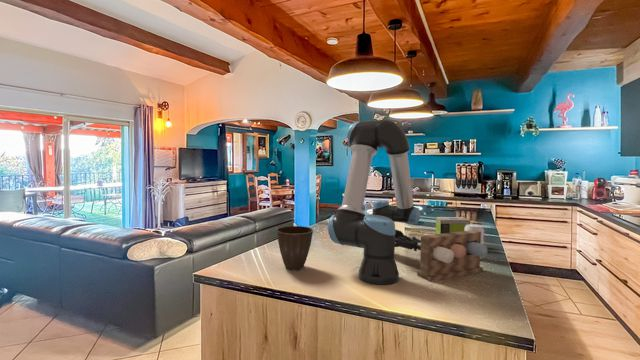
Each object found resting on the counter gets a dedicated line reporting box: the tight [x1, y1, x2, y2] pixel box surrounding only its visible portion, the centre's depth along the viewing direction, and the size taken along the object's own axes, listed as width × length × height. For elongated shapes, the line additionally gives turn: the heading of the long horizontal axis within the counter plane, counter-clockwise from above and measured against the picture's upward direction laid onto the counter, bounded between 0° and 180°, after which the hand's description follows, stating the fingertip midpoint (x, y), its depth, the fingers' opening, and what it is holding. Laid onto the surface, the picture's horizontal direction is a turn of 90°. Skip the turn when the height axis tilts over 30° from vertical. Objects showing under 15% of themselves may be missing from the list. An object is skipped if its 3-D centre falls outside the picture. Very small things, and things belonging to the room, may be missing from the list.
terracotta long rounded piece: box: [450, 243, 466, 258], centre depth 132 cm, size 5×9×5 cm, turn 25°
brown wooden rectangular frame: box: [416, 230, 484, 283], centre depth 133 cm, size 28×7×16 cm, turn 115°
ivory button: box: [432, 246, 454, 263], centre depth 126 cm, size 5×9×5 cm, turn 26°
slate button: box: [467, 241, 488, 258], centre depth 134 cm, size 5×9×5 cm, turn 25°
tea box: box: [435, 216, 471, 234], centre depth 176 cm, size 15×10×15 cm, turn 84°
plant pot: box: [276, 225, 314, 271], centre depth 138 cm, size 15×15×16 cm
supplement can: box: [464, 223, 485, 260], centre depth 155 cm, size 8×8×15 cm
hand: (430, 250), depth 130 cm, fingers closed
